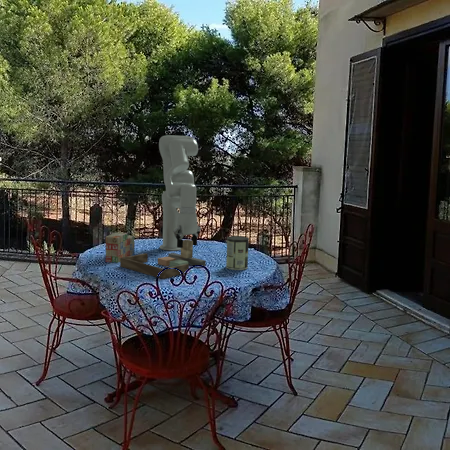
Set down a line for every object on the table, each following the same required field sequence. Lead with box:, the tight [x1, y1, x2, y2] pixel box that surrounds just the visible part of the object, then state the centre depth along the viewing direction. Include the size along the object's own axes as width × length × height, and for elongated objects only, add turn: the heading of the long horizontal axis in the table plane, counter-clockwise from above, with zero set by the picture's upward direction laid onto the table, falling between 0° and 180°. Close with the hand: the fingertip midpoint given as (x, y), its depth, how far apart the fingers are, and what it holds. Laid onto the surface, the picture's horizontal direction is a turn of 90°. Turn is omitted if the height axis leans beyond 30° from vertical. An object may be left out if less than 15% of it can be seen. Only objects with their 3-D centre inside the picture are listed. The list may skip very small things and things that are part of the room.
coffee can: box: [225, 235, 250, 271], centre depth 232 cm, size 10×10×14 cm
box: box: [119, 252, 190, 280], centre depth 223 cm, size 15×28×4 cm, turn 50°
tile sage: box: [169, 259, 188, 267], centre depth 230 cm, size 6×6×3 cm
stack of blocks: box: [105, 232, 136, 264], centre depth 244 cm, size 21×6×12 cm, turn 169°
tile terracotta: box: [157, 256, 176, 267], centre depth 235 cm, size 6×6×3 cm
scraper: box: [167, 239, 207, 267], centre depth 238 cm, size 4×22×11 cm, turn 50°
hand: (187, 246), depth 237 cm, fingers open, 9 cm apart
